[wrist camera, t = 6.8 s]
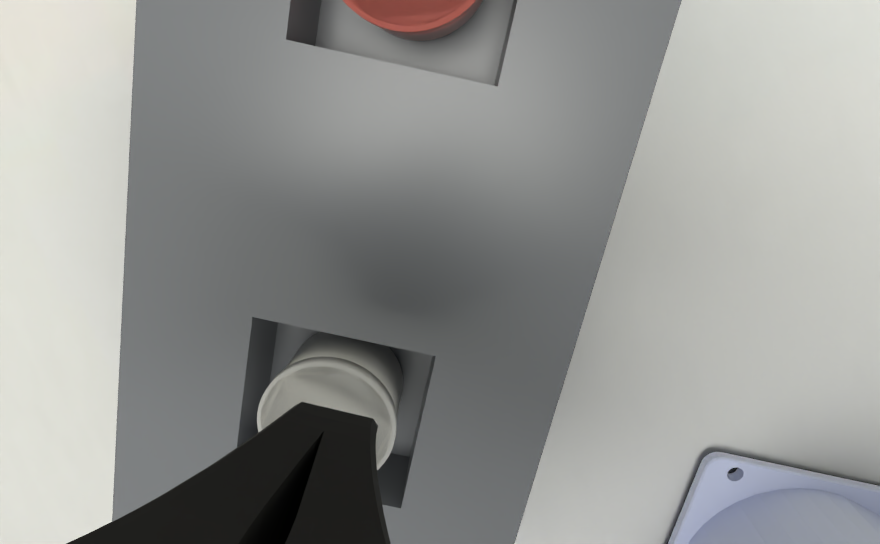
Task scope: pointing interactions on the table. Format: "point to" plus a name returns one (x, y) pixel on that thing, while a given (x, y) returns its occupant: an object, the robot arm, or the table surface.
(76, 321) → the table surface
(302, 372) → the sample container
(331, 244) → the console
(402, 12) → the red button
